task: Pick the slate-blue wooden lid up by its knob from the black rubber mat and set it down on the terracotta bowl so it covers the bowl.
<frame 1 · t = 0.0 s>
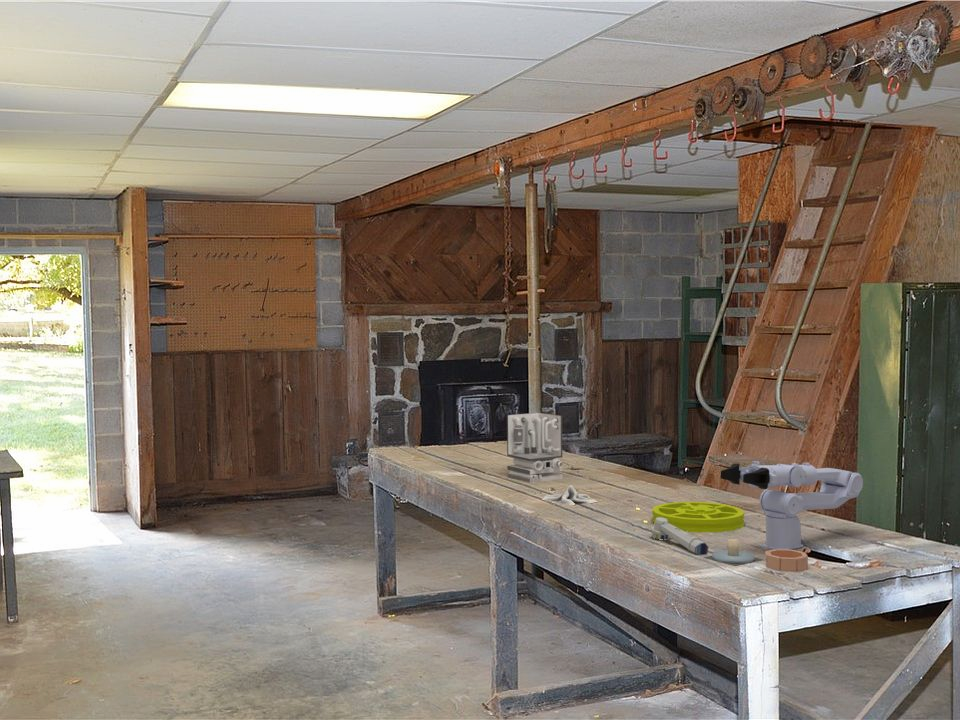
hand: (732, 476, 261), 22 cm above the workbench, tool horizontal, fingers open, 7 cm apart
pulley: (697, 524, 306), on the workbench
electrical transformer: (535, 478, 391), on the workbench
cloth: (570, 504, 341), on the workbench
grey flashlight: (678, 547, 276), on the workbench
mat: (733, 560, 259), on the workbench
lid: (733, 558, 259), resting on mat
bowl: (786, 567, 251), on the workbench
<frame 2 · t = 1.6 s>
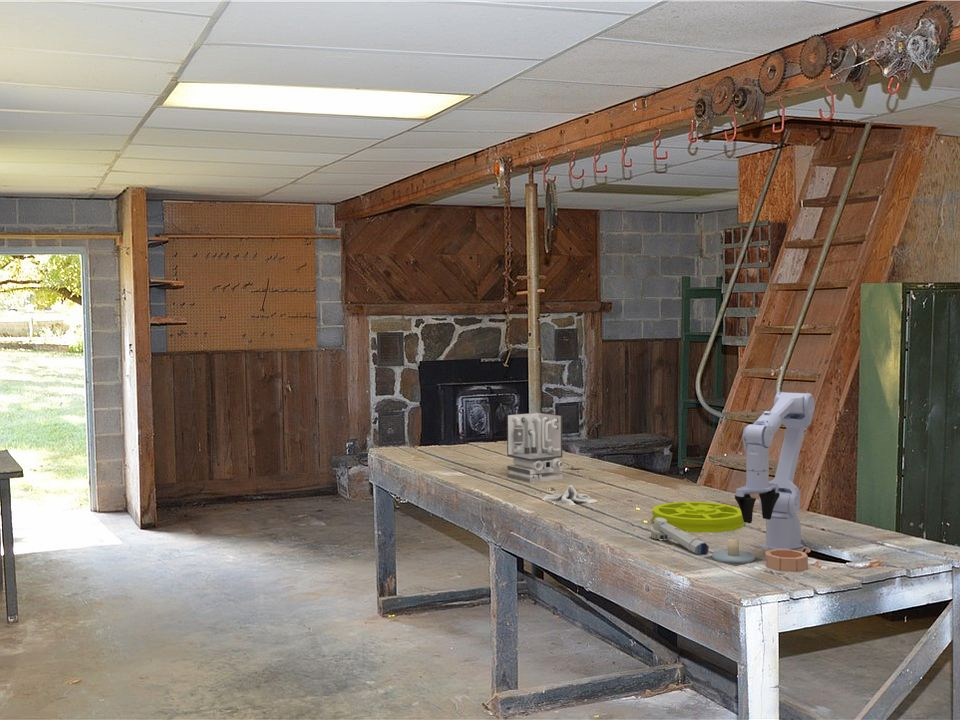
hand: (757, 520, 261), 10 cm above the workbench, tool pointing down, fingers open, 7 cm apart
nothing on the workbench moved.
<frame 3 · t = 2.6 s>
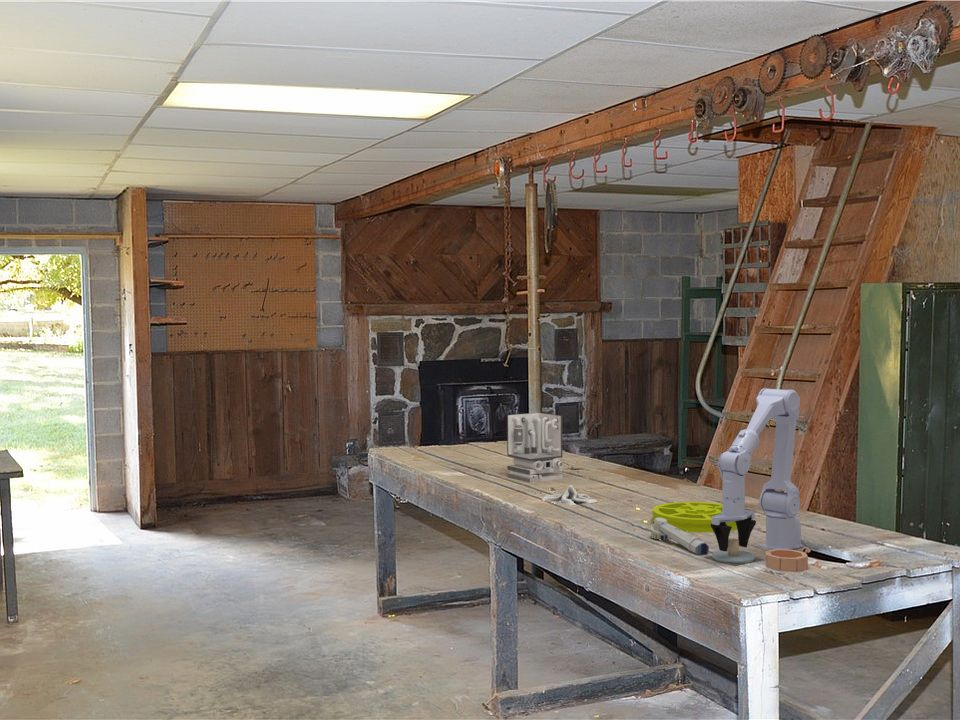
hand: (733, 548, 259), 3 cm above the workbench, tool pointing down, fingers open, 7 cm apart
nothing on the workbench moved.
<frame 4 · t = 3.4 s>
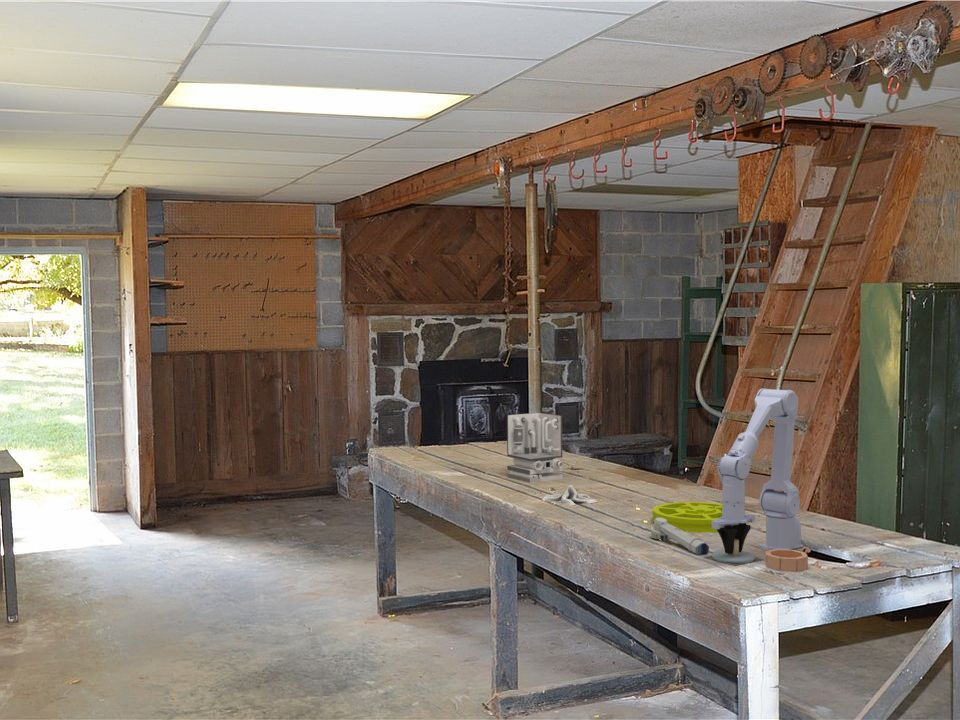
hand: (733, 552, 259), 2 cm above the workbench, tool pointing down, fingers closed on lid, 3 cm apart
lid: (733, 558, 259), resting on mat, touching gripper
everything else where it was.
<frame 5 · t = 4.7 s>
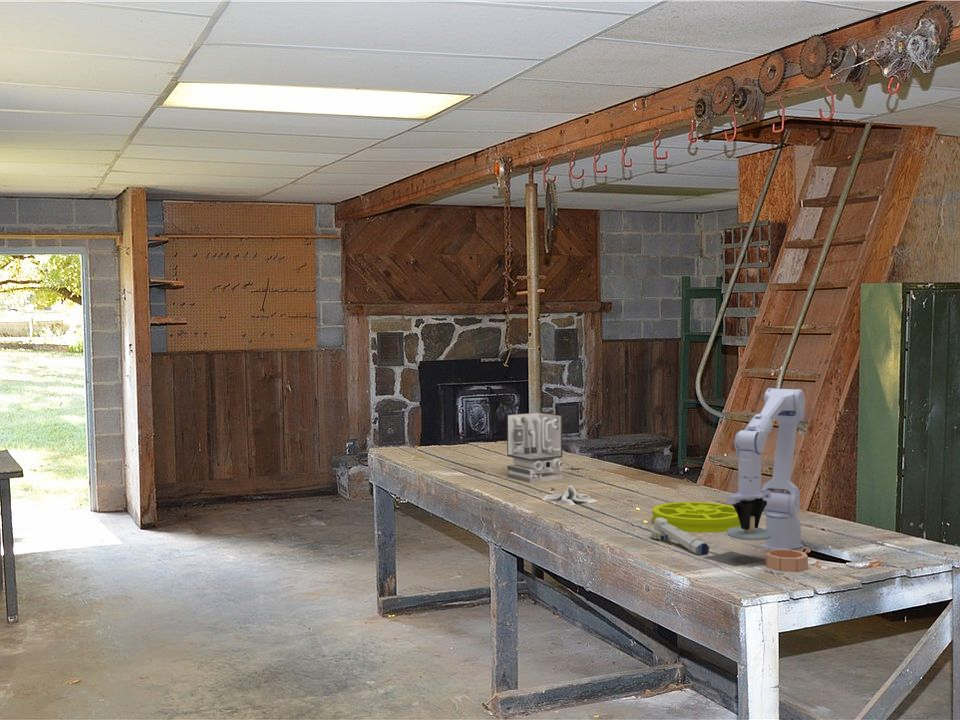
hand: (749, 528, 256), 9 cm above the workbench, tool pointing down, fingers closed on lid, 3 cm apart
lid: (749, 535, 256), point 7 cm above the workbench, touching gripper
everything else where it was.
when the fingers open (7 cm above the workbench, at t = 5.9 s): lid drops 1 cm, resting on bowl.
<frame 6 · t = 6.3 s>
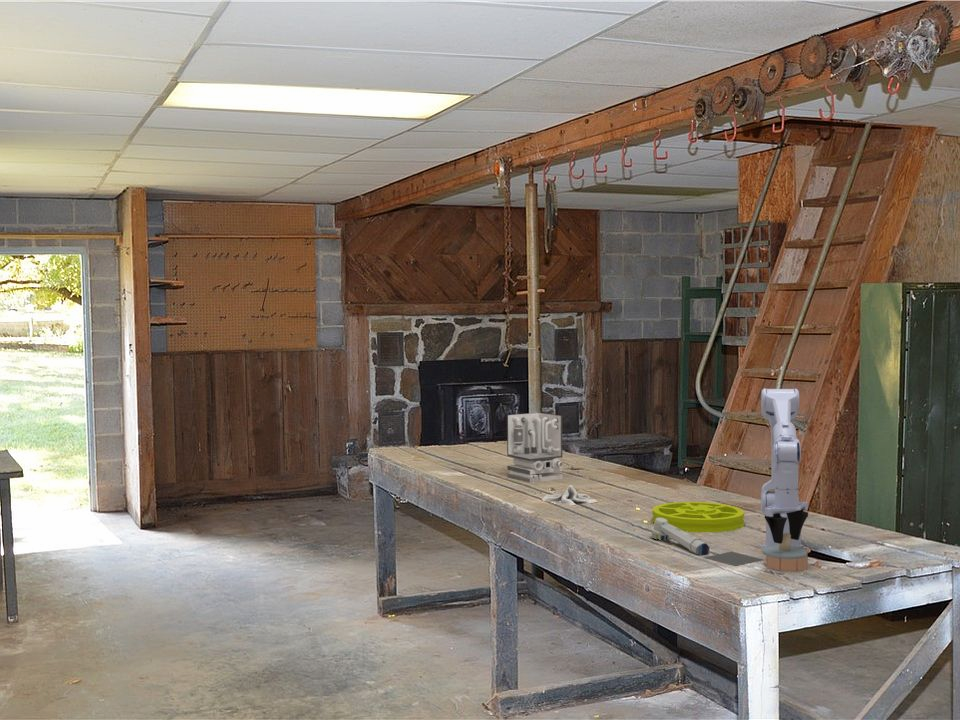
hand: (786, 541, 251), 7 cm above the workbench, tool pointing down, fingers open, 6 cm apart
lid: (784, 553, 251), point 3 cm above the workbench, touching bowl
everything else where it was.
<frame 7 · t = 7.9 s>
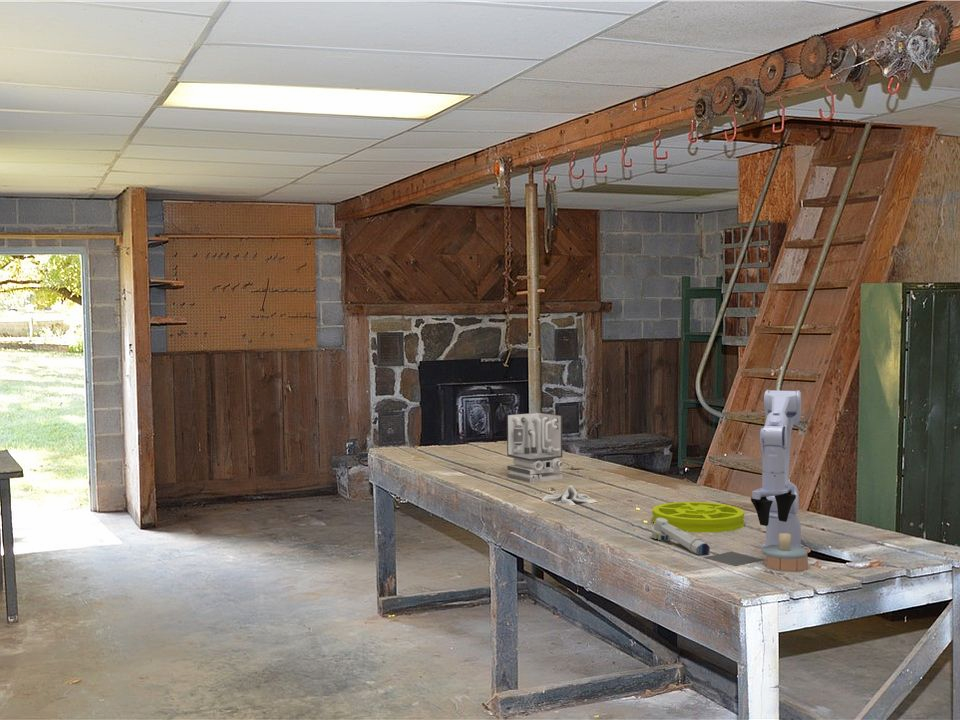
hand: (773, 523, 257), 10 cm above the workbench, tool pointing down, fingers open, 7 cm apart
nothing on the workbench moved.
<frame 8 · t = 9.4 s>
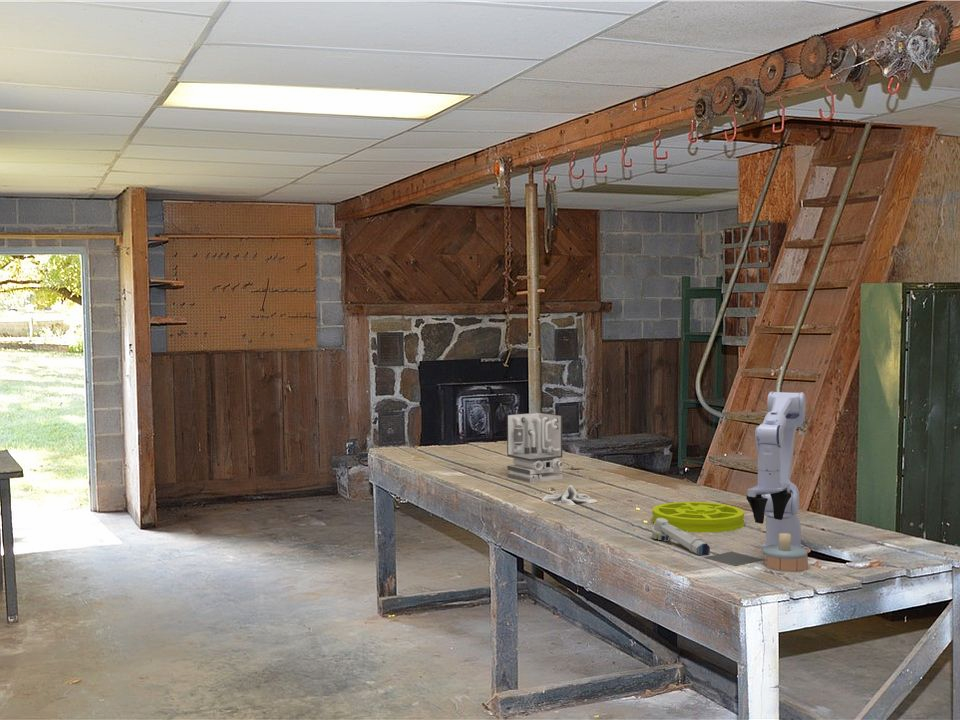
hand: (768, 521, 259), 10 cm above the workbench, tool pointing down, fingers open, 7 cm apart
nothing on the workbench moved.
at the end: lid 0.4 cm off-centre on the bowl, point 3.5 cm above the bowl's base; lid tilted 0°; the gripper is holding nothing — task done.
